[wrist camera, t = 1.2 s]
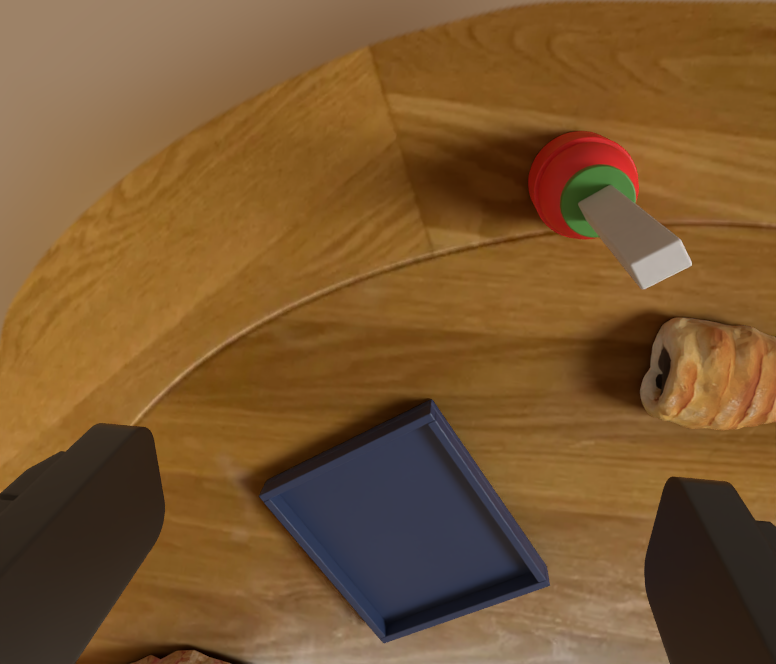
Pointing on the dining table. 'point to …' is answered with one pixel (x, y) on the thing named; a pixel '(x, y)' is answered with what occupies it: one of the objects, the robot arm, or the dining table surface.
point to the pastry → (711, 375)
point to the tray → (406, 525)
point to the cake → (181, 659)
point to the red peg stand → (602, 204)
